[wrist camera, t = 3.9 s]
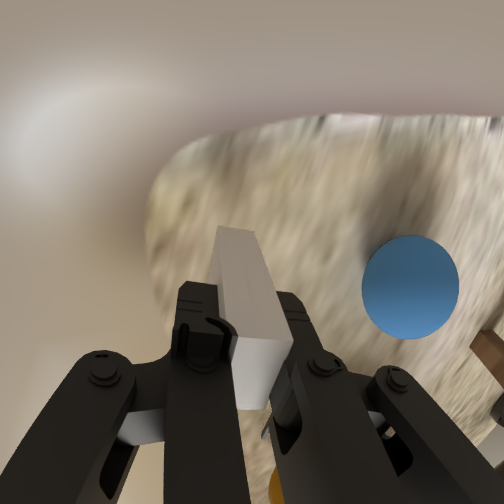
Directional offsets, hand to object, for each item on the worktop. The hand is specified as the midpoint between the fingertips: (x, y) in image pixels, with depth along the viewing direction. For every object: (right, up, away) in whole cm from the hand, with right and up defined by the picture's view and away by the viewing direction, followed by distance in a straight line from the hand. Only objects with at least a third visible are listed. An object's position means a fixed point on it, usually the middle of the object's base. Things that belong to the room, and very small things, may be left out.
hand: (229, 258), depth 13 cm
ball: (+9, -2, +2) cm, 10 cm away
